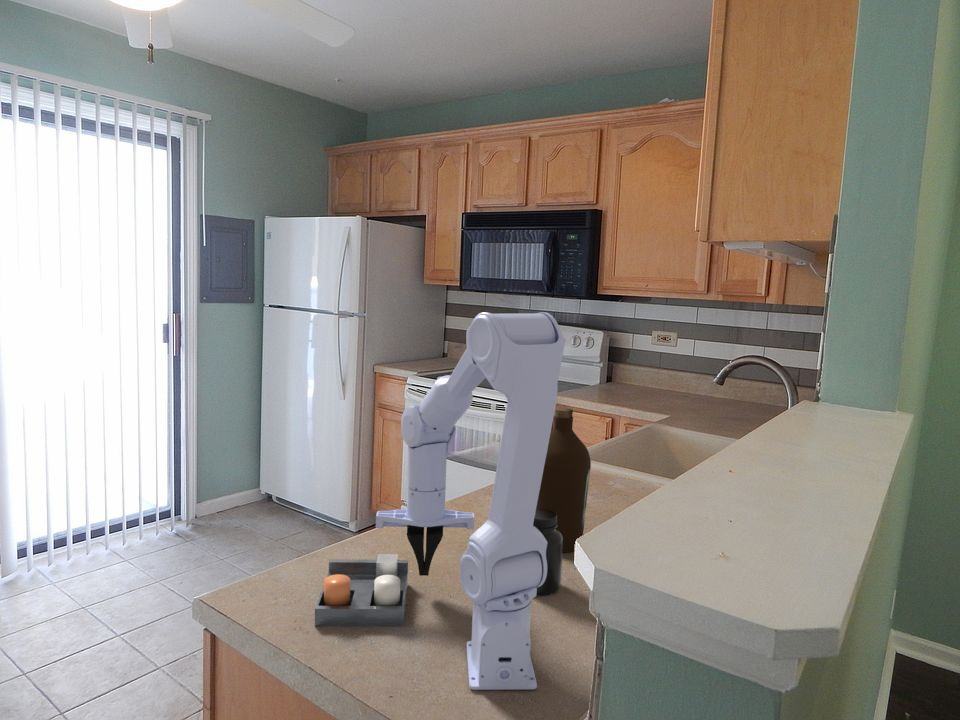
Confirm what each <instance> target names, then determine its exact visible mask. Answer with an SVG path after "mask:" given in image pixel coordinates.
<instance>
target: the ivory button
mask: <svg viewBox="0 0 960 720" xmlns="http://www.w3.org/2000/svg"><path fill="white" fill-rule="evenodd" d="M399 602H400V578H399V577H397V576H394V575H382V576H379V577H377V578H376V579H375V581H374V603H375V604H376V605H377V606H395V605H397V604H398V603H399Z"/></svg>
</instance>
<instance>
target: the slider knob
mask: <svg viewBox="0 0 960 720" xmlns="http://www.w3.org/2000/svg"><path fill="white" fill-rule="evenodd" d="M376 560H377V562H376V578H377V577H379V576H382V575H394V576H397V574H398V560H399V554H397V553H390V554H389V553H386V554H385V553H377V558H376Z"/></svg>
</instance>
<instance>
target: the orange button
mask: <svg viewBox="0 0 960 720" xmlns="http://www.w3.org/2000/svg"><path fill="white" fill-rule="evenodd" d="M326 577H327V576H326ZM326 577H325V578H324V579H323V585H324V604H325V605H327V606H344V605H346V604H348V603H349V601H350V578H349V577H348V576H346V575H341V574H337V575H331V576H328V577H327V578H326Z"/></svg>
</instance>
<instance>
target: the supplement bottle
mask: <svg viewBox="0 0 960 720" xmlns="http://www.w3.org/2000/svg"><path fill="white" fill-rule="evenodd" d="M533 526H534V527H536V528H537V529H538V530H539V531H540V532H541V533H542V534H543V536H544V537H545V539H546V541H547V548H546V560H547V576H546V579H545V582H544V583H543V584H542V585H541V586H540V587H537V594H536V597H549V596H552V595H555V594H556V593H557V592H559V591H560V589H561V584H562V566H563V565H562V563H563V552H562V545H563V538H562V535H561V533H560V531H559V530H557V529H556V528H557V515H556V513H555V512H553V511H551V510H547V509H536V512H535V517H534V522H533Z"/></svg>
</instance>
